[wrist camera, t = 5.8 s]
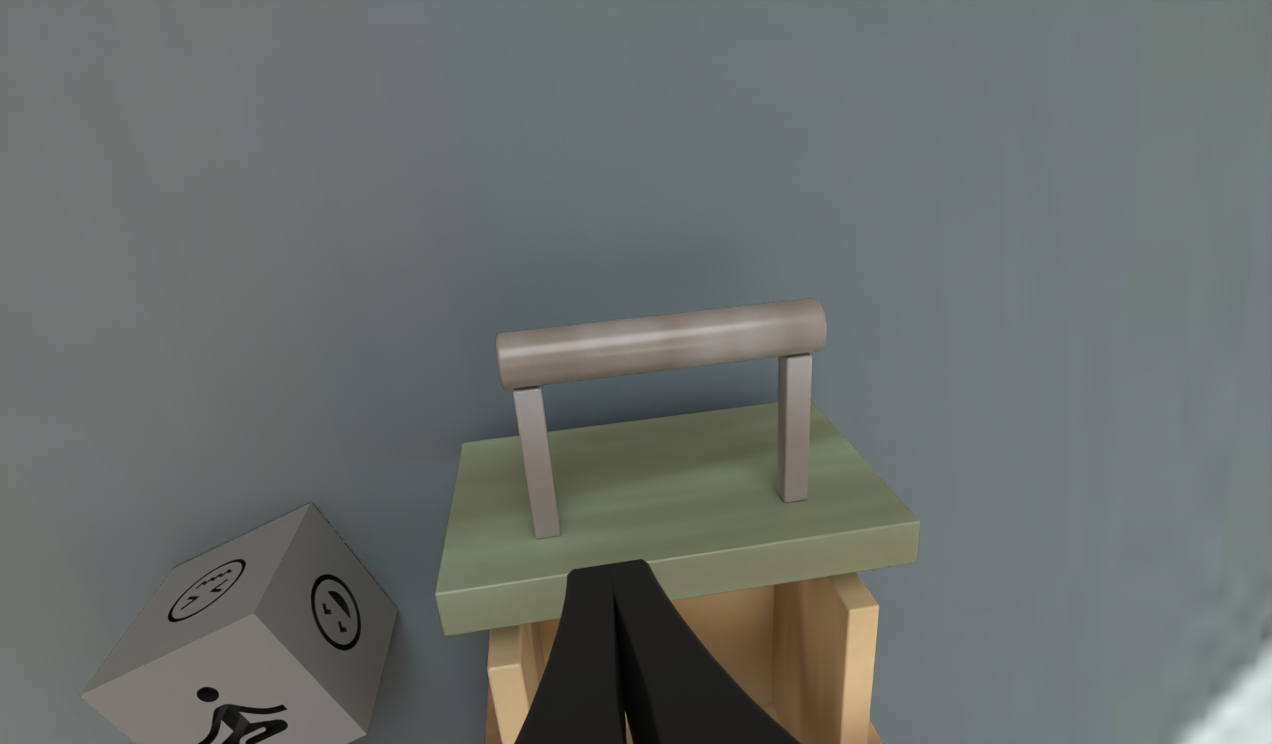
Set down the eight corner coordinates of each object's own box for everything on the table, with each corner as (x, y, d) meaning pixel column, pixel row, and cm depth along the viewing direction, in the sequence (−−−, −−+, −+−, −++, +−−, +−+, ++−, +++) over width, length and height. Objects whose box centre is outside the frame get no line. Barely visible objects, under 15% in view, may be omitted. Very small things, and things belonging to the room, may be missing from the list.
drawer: (430, 281, 19) (383, 377, 13) (815, 241, 20) (945, 311, 14) (518, 736, 26) (515, 945, 19) (800, 687, 27) (882, 869, 21)
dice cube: (270, 669, 24) (209, 807, 19) (172, 568, 22) (79, 695, 17) (398, 609, 24) (367, 734, 19) (311, 502, 22) (253, 613, 17)
